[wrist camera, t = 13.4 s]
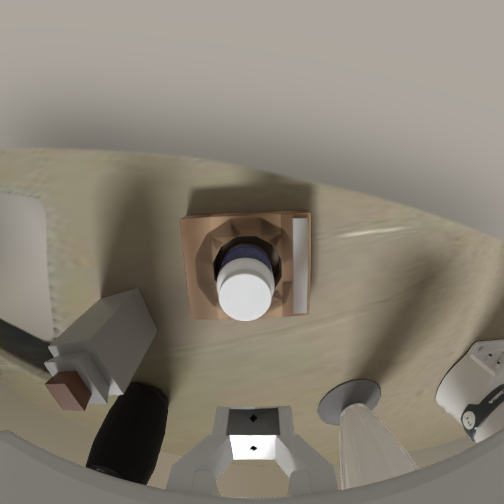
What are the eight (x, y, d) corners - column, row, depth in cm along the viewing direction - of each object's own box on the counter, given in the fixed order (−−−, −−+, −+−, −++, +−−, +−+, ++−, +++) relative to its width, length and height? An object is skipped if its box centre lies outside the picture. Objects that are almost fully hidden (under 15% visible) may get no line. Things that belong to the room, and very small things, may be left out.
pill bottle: (215, 252, 34) (201, 281, 24) (259, 234, 33) (262, 256, 23) (234, 293, 35) (229, 334, 25) (277, 276, 34) (287, 313, 25)
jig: (305, 210, 32) (311, 213, 29) (304, 304, 35) (309, 316, 32) (186, 215, 32) (179, 219, 29) (195, 309, 35) (191, 321, 32)
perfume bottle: (158, 331, 36) (108, 424, 19) (120, 338, 37) (62, 421, 19) (138, 287, 35) (66, 366, 17) (100, 298, 35) (25, 369, 18)
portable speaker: (183, 407, 40) (159, 505, 21) (143, 418, 41) (112, 502, 22) (151, 372, 38) (108, 472, 19) (112, 385, 39) (66, 470, 20)
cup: (303, 413, 40) (325, 523, 19) (353, 368, 38) (406, 480, 17) (346, 430, 42) (376, 521, 21) (392, 391, 40) (443, 481, 19)
